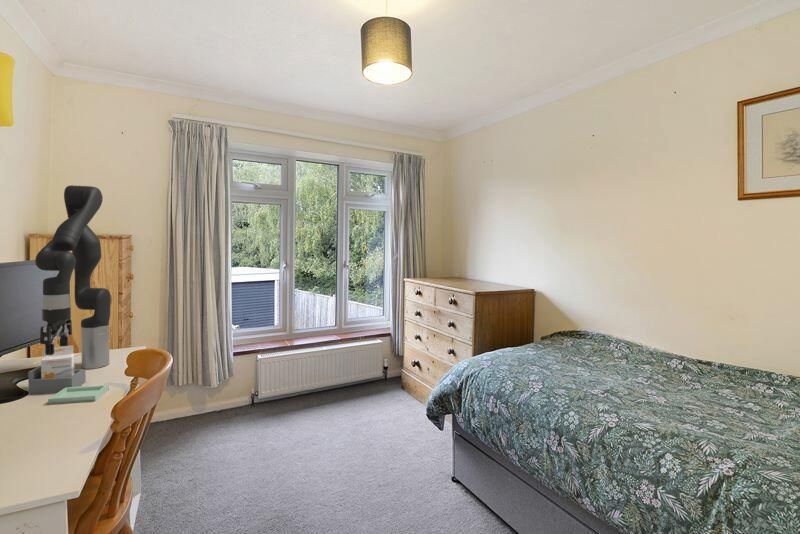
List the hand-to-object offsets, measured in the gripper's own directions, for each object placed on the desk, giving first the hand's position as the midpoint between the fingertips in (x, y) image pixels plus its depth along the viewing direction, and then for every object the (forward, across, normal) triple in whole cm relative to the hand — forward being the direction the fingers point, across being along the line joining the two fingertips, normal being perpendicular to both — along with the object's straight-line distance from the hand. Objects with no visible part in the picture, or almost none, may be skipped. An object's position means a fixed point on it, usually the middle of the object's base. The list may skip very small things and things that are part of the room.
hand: (57, 351), depth 135 cm
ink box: (+14, 0, 0) cm, 14 cm away
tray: (+14, +10, +11) cm, 20 cm away
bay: (+14, 0, 0) cm, 14 cm away
